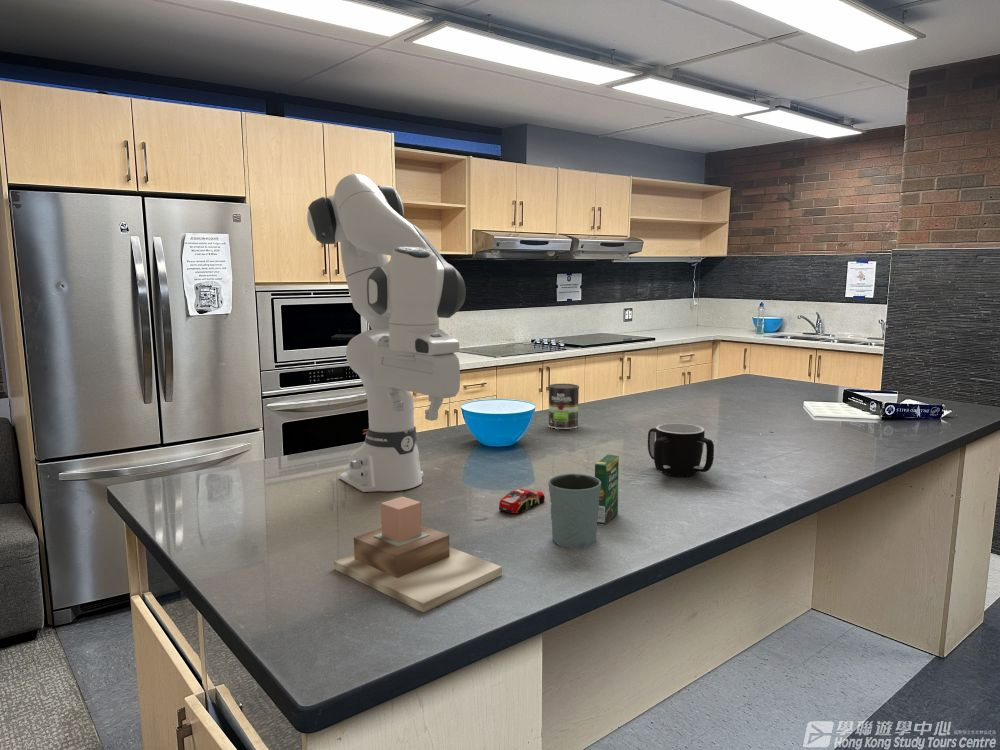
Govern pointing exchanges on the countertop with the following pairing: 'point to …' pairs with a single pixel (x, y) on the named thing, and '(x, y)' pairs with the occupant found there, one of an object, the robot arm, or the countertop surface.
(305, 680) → the countertop surface
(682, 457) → the mug
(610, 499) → the coffee box
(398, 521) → the terracotta block
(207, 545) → the countertop surface
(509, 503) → the race car
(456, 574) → the build board
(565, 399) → the coffee can
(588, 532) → the grey green cup
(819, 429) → the countertop surface
